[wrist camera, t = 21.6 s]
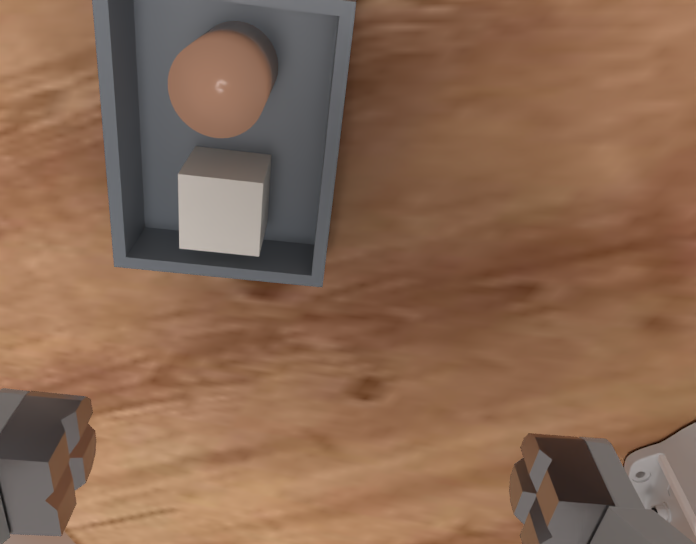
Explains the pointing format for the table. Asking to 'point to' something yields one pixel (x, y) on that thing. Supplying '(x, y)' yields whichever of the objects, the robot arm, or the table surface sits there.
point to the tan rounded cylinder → (223, 79)
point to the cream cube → (223, 201)
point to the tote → (263, 137)
